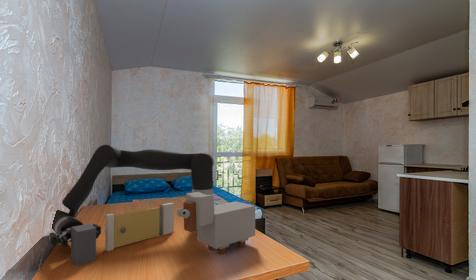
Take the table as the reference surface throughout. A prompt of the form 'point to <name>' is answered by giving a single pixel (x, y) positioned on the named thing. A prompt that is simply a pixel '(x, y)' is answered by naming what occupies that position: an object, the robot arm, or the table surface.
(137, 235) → the door
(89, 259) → the rubber block
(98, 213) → the table surface
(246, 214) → the toy
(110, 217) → the wall frame
